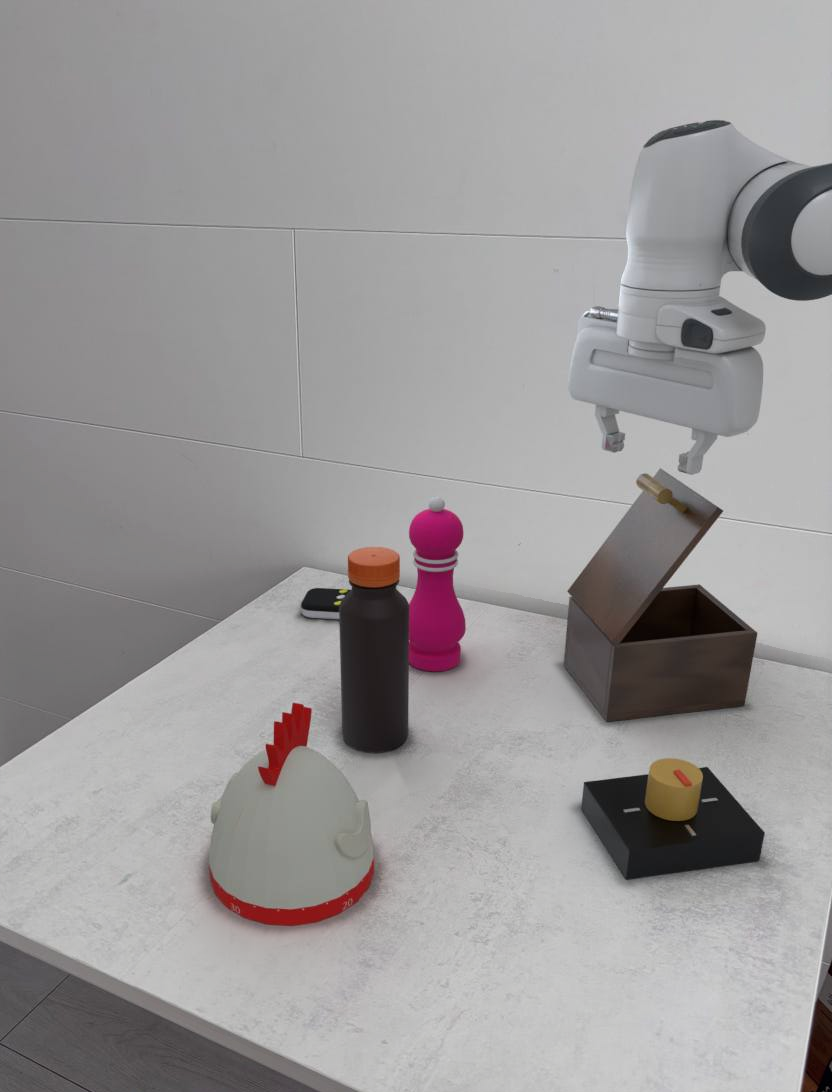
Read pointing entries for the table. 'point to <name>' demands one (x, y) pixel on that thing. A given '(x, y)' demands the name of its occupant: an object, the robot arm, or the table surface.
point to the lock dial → (673, 789)
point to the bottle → (374, 652)
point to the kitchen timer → (290, 833)
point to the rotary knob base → (670, 828)
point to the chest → (663, 657)
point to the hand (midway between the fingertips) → (649, 461)
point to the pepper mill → (435, 590)
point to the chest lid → (642, 553)
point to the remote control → (323, 603)
